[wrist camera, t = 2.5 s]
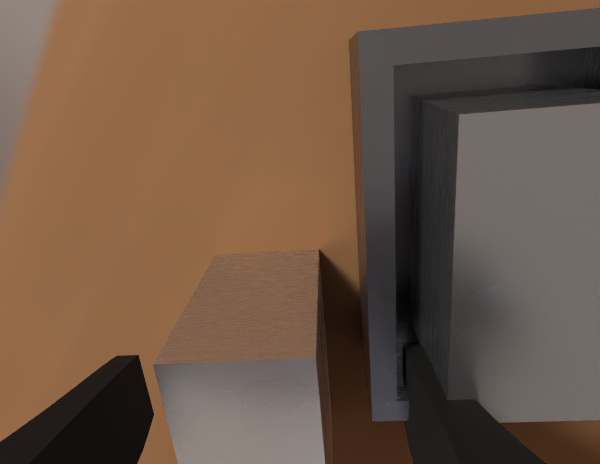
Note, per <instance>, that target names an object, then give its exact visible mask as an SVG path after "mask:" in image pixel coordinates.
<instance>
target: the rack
mask: <svg viewBox="0 0 600 464" xmlns="http://www.w3.org/2000/svg"><path fill="white" fill-rule="evenodd" d="M349 50H350V73H351V96H352V119H353V143H354V166H355V189H356V212H357V235H358V259H359V282H360V305H361V328H362V349H363V356H364V364H365V371H366V379H367V386H368V394H369V401H370V409H371V416H372V422H374V421H409V398H408V394H407V390H406V386H405V382H404V378H403V375H402V364H403V345H422V347H423V348H424V350H425V352H426V354H427V356H428V358H429V360H430V362H431V364H432V366H433V368H434V370H435V373H436V375H437V377H438V379H439V382H440V384H441V386H442V389H443V391H444V393H445V396H446V398H447V400H468V399H475V400H476V401H477V402H478V403H479V404H480V405H481V406H482V407H483V408H484V409H485V410H486V411H487V412H488V413H489V414H490V415H491V416H492V417H493V418H495V419H496V420H497V421H498V422H499V423H510V422H547V421H584V420H600V8H596V9H585V10H575V11H565V12H555V13H544V14H534V15H524V16H514V17H503V18H493V19H483V20H473V21H462V22H452V23H442V24H432V25H421V26H411V27H401V28H391V29H380V30H370V31H360V32H357V33H356V34H355V35H354V36H353V37H352V38H351V39H349Z"/></svg>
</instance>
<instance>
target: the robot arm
mask: <svg viewBox="0 0 600 464" xmlns="http://www.w3.org/2000/svg"><path fill="white" fill-rule="evenodd" d="M402 375H403V378H404V382H405V386H406V390H407V394H408V398H409V421H405V427H406V433H407V439H408V444H409V448H410V452H411V456H412V459H413V463H414V464H546V463H545V462H544V461H542V460H541V459H540V458H539V457H537V456H536V455H535V454H534V453H533V452H531V451H530V450H529V449H528V448H526V447H525V446H524V445H523V444H522V443H521V442H520V441H518V440H517V439H516V438H515V437H514V436H513V435H512V434H511V433H509V432H508V431H507V430H506V429H505V428H504V427H503V426H502V425H501V424H500V423H499V422H498V421H497V420H496V419H495V418H493V417H492V416H491V415H490V414H489V413H488V412H487V411H486V410H485V409H484V408H483V407H482V406H481V405H480V404H479V403H478V402H477V401H476V400H475V399H468V400H447V398H446V396H445V393H444V391H443V389H442V386H441V384H440V382H439V379H438V377H437V375H436V373H435V370H434V368H433V366H432V364H431V362H430V360H429V358H428V356H427V354H426V352H425V350H424V348H423V347H422V345H403V364H402ZM153 416H154V413H153V409H152V405H151V401H150V397H149V393H148V390H147V386H146V382H145V378H144V374H143V371H142V367H141V363H140V359H139V355H128V356H116V357H114V358H113V359H111V360H110V361H109V362H107V363H106V364H104V365H103V366H102V367H100V368H99V369H98V370H96V371H95V372H94V373H93V374H91V375H90V376H89V377H87V378H86V379H85V380H84V381H82V382H81V383H80V384H78V385H77V386H76V387H75V388H73V389H72V390H71V391H69V392H68V393H67V394H65V395H64V396H63V397H62V398H60V399H59V400H58V401H56V402H55V403H54V404H52V405H51V406H50V407H48V408H47V409H46V410H44V411H43V412H42V413H40V414H39V415H37V416H36V417H35V418H33V419H32V420H30V421H29V422H28V423H26V424H25V425H24V426H22V427H21V428H19V429H18V430H17V431H15V432H14V433H12V434H11V435H10V436H8V437H7V438H5V439H4V440H2V441H1V442H0V464H137V463H138V460H139V458H140V456H141V453H142V451H143V448H144V445H145V442H146V439H147V436H148V433H149V429H150V426H151V423H152V419H153Z"/></svg>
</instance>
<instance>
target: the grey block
mask: <svg viewBox="0 0 600 464" xmlns="http://www.w3.org/2000/svg"><path fill="white" fill-rule="evenodd" d="M153 365H154V369H155V373H156V377H157V381H158V385H159V389H160V394H161V398H162V402H163V406H164V410H165V414H166V418H167V422H168V426H169V430H170V434H171V438H172V442H173V446H174V450H175V454H176V458H177V462H178V464H333V449H332V412H331V399H330V386H329V373H328V360H327V347H326V334H325V322H324V309H323V296H322V283H321V270H320V257H319V249H306V250H289V251H272V252H255V253H238V254H221V255H215V256H214V258H213V260H212V261H211V263H210V265H209V267H208V268H207V270H206V272H205V274H204V276H203V277H202V279H201V281H200V283H199V284H198V286H197V288H196V290H195V291H194V293H193V295H192V297H191V299H190V300H189V302H188V304H187V306H186V307H185V309H184V311H183V313H182V315H181V316H180V318H179V320H178V322H177V323H176V325H175V327H174V329H173V330H172V332H171V334H170V336H169V338H168V339H167V341H166V343H165V345H164V346H163V348H162V350H161V352H160V353H159V355H158V357H157V359H156V361H155V362H154V364H153Z"/></svg>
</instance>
